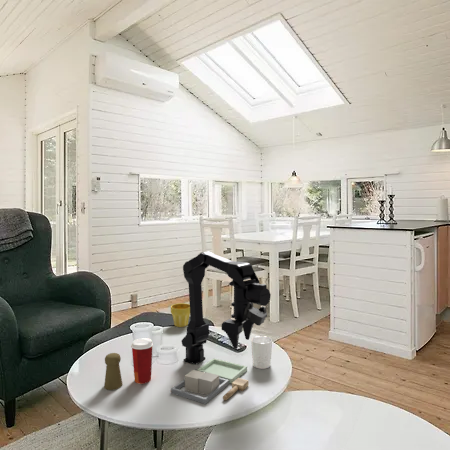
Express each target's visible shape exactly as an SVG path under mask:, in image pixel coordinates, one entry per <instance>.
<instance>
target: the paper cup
mask: <svg viewBox="0 0 450 450" xmlns="http://www.w3.org/2000/svg"><path fill="white" fill-rule="evenodd" d="M153 346H154V343H153V341H152V339H151V338H147V337H144V338H143V337H142V338H141V337H140V338H136V339H134V340H133V341H132V342H131V344H130V347H131V353H132V363H133V364H132V366H133V376H134V382H135V383H136V384H139V385H144V384H147V383H150V382H151V381H152V369H153V368H152V365H153V364H152V363H153Z"/></svg>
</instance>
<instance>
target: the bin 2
mask: <svg viewBox="0 0 450 450" xmlns="http://www.w3.org/2000/svg"><path fill="white" fill-rule="evenodd" d="M196 371H200V372H204V373H206V372H207V373H212V374H216V375H219V377H220V378H223V379H227V380H229V384H232V383H233V382H234V381H235V380H236V379H237V378H241V376H243V375H244V374H245V373H246V372H247V371H248V366H247V365H242V364H239V363H235V362H231V361H226V360H223V359H219V358H215V357H214V358H212V359H211V360H209V361H207V362H206V363H204V364H203V365H201V367H199V368H197V369H196Z"/></svg>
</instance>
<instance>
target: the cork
mask: <svg viewBox="0 0 450 450" xmlns="http://www.w3.org/2000/svg"><path fill="white" fill-rule="evenodd" d="M121 359H122V358H121V355H120V354H119V353H118V352H110V353H108V354H106V356H105V357H104V364H105V367H106V368H105V376H104V377H105V378H104V386H103V387H104V389H105V390H107V391H115V390H119V389H120V388H121V387H122V386H123V380H122V373H121V369H120V367H121V366H120V363H121Z"/></svg>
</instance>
